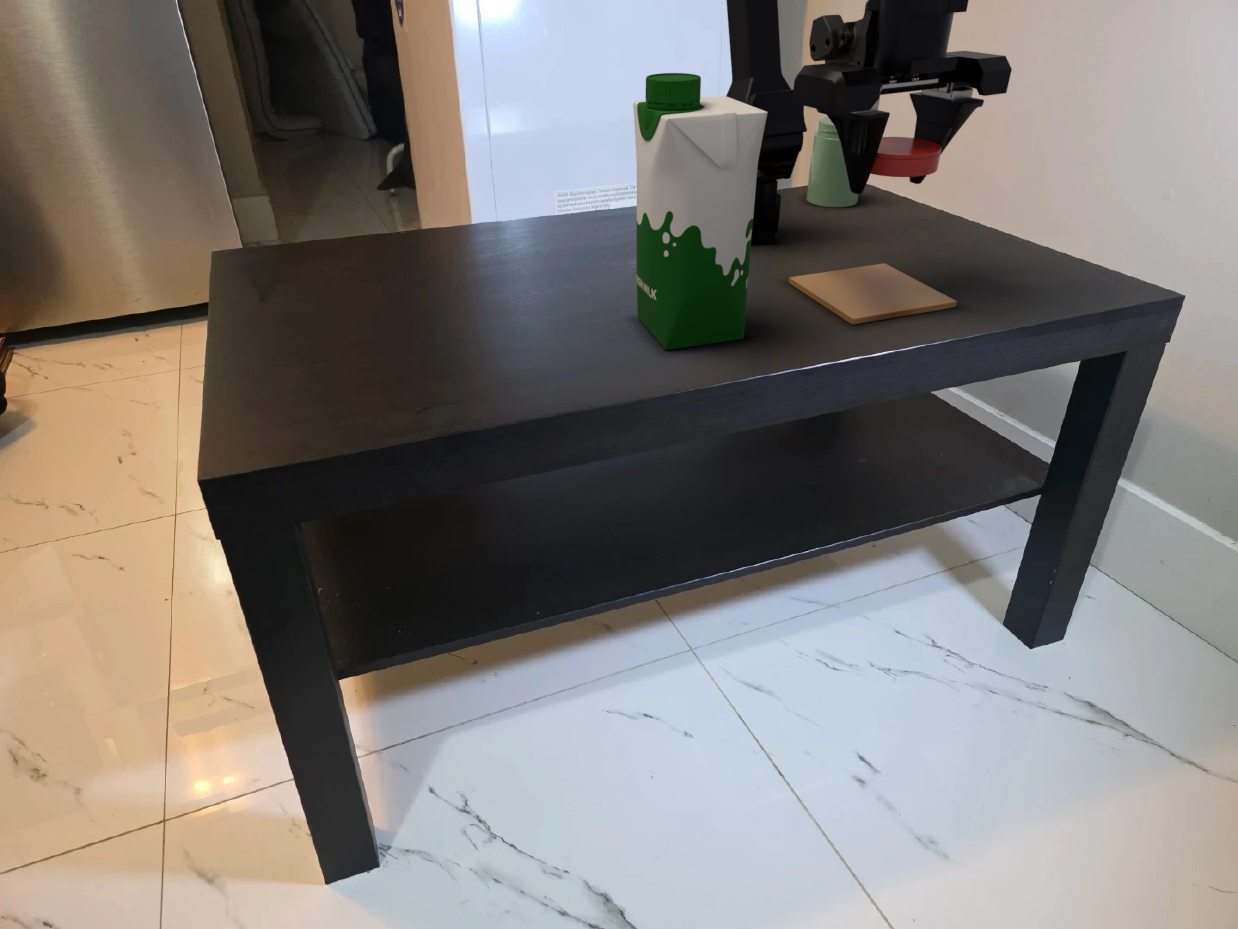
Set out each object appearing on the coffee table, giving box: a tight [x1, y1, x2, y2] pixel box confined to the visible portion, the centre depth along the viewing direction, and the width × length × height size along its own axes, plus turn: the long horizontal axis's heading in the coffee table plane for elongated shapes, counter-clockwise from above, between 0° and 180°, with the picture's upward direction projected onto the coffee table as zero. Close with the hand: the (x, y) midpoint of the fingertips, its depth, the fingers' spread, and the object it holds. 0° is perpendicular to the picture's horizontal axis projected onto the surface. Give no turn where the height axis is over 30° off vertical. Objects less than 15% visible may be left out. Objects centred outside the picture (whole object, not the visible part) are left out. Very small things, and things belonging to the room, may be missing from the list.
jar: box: [805, 116, 860, 208], centre depth 101 cm, size 6×6×10 cm
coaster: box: [788, 262, 958, 326], centre depth 76 cm, size 11×11×1 cm
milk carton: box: [632, 72, 768, 351], centre depth 65 cm, size 9×9×20 cm
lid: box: [870, 136, 942, 178], centre depth 69 cm, size 7×7×2 cm
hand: (886, 187), depth 71 cm, fingers closed on lid, 6 cm apart
